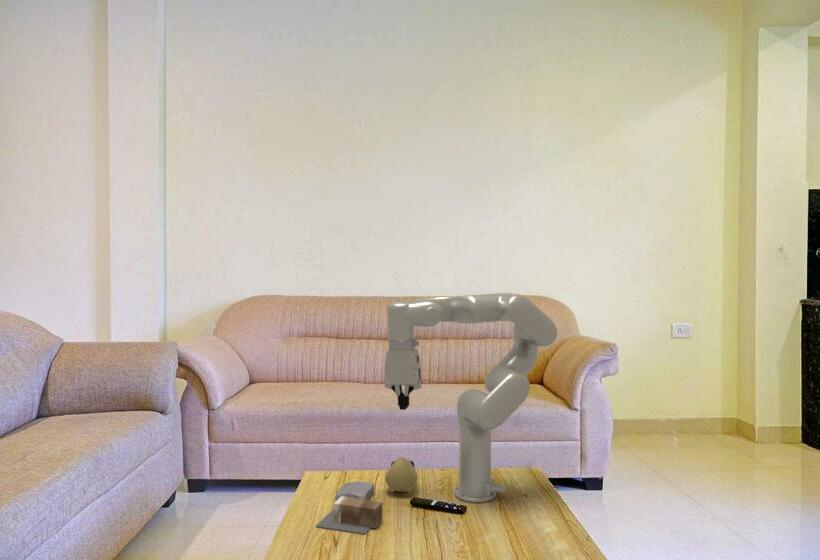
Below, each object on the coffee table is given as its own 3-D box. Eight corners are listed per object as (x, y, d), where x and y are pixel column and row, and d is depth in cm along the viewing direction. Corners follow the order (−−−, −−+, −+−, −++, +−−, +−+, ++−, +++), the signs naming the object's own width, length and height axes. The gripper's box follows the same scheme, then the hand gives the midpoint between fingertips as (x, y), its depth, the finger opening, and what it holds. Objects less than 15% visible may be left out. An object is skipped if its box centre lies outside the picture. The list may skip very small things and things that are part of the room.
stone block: (333, 512, 164) (366, 508, 162) (330, 495, 165) (363, 491, 163) (346, 497, 176) (377, 493, 174) (343, 481, 176) (374, 477, 174)
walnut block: (382, 501, 154) (341, 496, 158) (375, 509, 149) (333, 503, 153) (382, 520, 154) (341, 514, 158) (375, 528, 149) (333, 521, 153)
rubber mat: (381, 515, 158) (381, 513, 158) (365, 534, 146) (365, 533, 146) (335, 508, 162) (335, 507, 162) (315, 527, 151) (315, 525, 151)
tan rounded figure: (419, 484, 181) (419, 450, 180) (416, 499, 169) (416, 463, 168) (388, 482, 182) (388, 449, 181) (383, 498, 170) (383, 462, 169)
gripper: (430, 343, 165) (432, 406, 166) (381, 343, 169) (383, 404, 170) (423, 347, 158) (425, 413, 159) (372, 347, 162) (374, 411, 163)
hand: (403, 408), depth 164 cm, fingers closed
